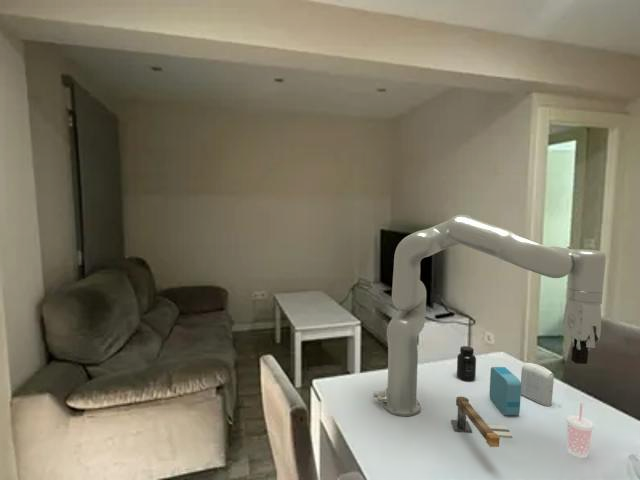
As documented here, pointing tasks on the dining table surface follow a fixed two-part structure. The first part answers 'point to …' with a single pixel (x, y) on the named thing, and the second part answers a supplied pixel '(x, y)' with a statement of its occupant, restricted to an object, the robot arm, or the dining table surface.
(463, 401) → the swing bar
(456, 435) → the dining table surface
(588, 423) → the beverage cup
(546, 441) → the dining table surface
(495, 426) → the label tile
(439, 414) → the dining table surface
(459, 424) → the post
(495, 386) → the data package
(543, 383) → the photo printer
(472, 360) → the supplement bottle
